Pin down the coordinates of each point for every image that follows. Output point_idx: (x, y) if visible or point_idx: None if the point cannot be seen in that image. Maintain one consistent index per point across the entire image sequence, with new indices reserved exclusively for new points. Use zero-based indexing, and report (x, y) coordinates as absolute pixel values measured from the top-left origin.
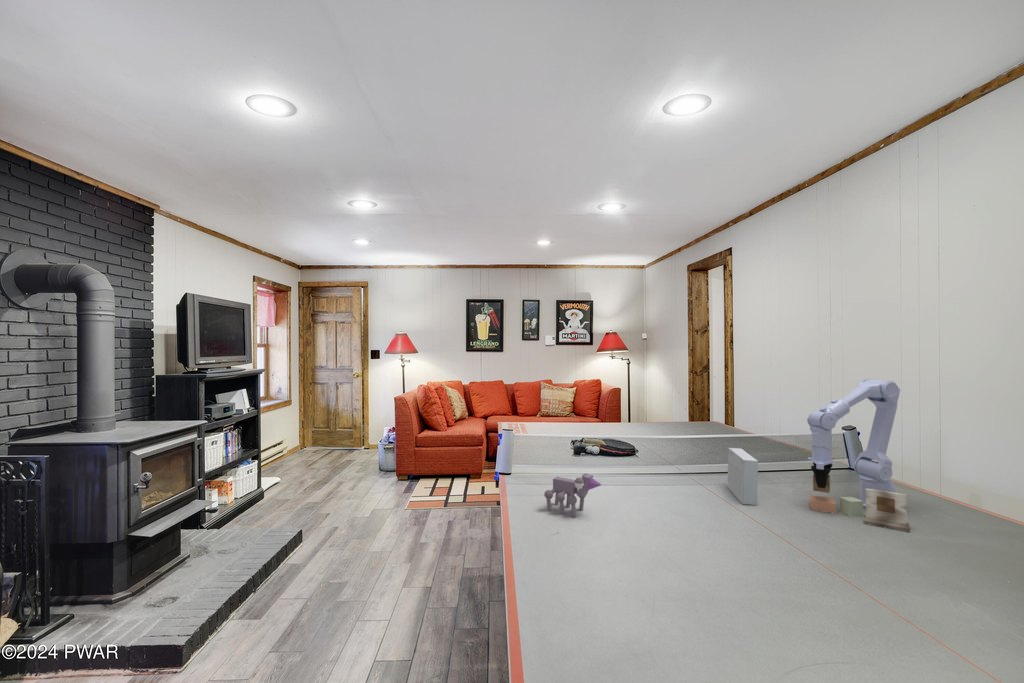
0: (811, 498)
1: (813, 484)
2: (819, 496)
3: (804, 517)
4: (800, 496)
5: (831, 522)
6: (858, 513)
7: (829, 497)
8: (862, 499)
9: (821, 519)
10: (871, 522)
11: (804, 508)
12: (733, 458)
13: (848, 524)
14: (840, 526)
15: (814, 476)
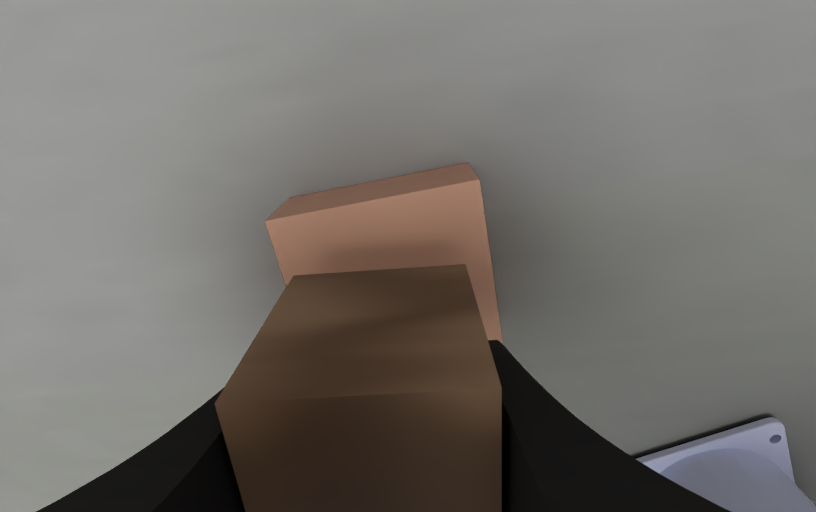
0: (347, 216)
1: (272, 317)
2: (476, 265)
3: (49, 191)
4: (678, 41)
5: (112, 350)
6: None
7: (501, 337)
8: (693, 485)
9: (117, 294)
10: None
11: (291, 148)
12: None
13: (164, 424)
14: (82, 396)
15: (222, 419)
